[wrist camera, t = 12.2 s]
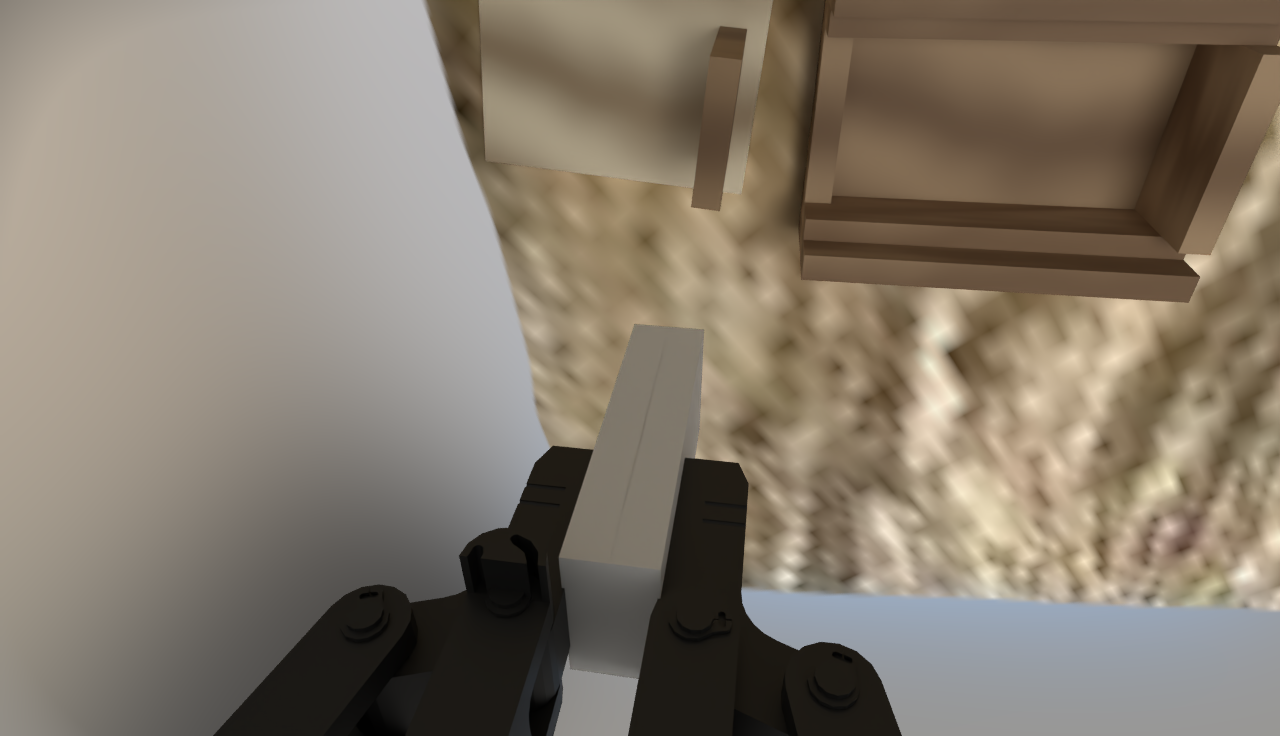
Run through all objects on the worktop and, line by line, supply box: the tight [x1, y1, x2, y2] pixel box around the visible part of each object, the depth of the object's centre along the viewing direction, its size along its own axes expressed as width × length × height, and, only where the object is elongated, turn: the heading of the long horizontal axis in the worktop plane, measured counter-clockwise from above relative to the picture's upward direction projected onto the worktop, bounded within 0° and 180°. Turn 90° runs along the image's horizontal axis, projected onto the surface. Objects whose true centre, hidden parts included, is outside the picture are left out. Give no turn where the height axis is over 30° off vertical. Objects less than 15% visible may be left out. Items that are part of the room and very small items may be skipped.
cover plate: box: [479, 0, 773, 211], centre depth 33 cm, size 9×13×7 cm
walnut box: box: [799, 0, 1280, 303], centre depth 32 cm, size 12×16×6 cm
